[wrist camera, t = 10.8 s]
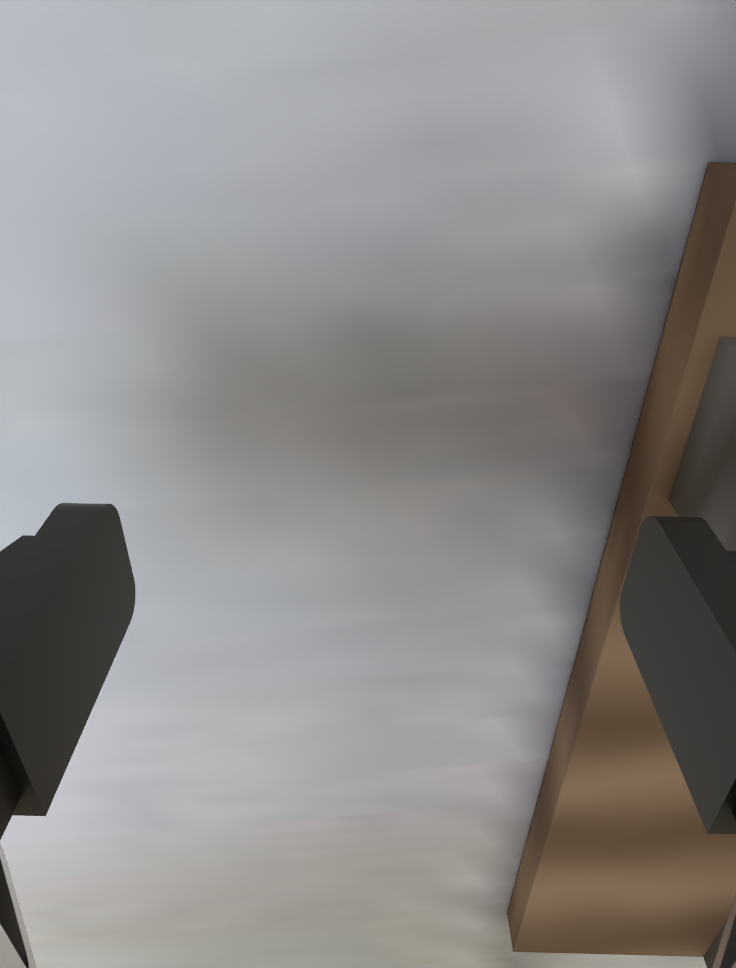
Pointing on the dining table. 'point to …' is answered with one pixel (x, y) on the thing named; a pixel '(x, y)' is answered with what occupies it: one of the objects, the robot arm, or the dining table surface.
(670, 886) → the hinged wooden plank
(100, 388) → the dining table surface
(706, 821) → the robot arm
